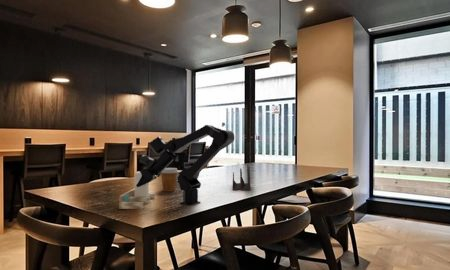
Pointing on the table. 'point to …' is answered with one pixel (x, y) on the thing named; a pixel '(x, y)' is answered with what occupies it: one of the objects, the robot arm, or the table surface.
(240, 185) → the letter holder
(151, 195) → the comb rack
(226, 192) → the table surface
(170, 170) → the disposable coffee cup
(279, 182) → the table surface
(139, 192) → the plug block
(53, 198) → the table surface
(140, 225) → the table surface
